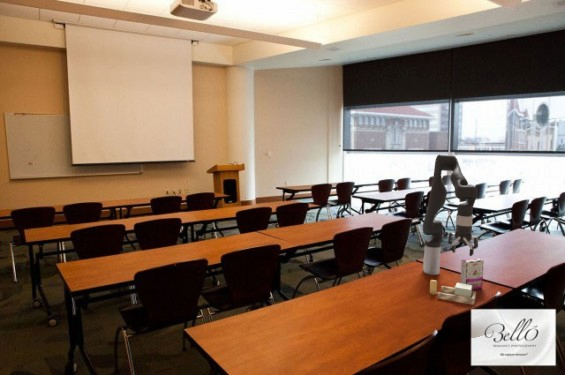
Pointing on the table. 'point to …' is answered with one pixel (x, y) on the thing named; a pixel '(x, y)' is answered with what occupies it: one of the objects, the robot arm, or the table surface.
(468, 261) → the candy bar box
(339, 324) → the table surface
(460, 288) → the tethered block
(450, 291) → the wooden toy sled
